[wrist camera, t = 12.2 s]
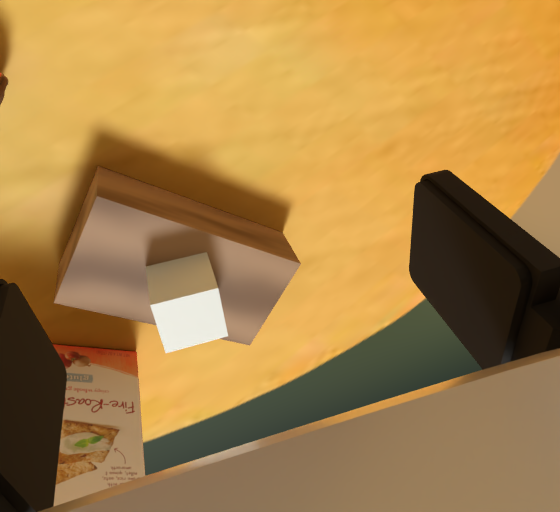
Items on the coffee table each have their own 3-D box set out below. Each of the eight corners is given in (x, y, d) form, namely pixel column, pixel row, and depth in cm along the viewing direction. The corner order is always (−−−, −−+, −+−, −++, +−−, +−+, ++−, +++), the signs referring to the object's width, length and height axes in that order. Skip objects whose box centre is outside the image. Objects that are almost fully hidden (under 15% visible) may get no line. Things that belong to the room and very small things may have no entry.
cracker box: (138, 346, 50) (154, 553, 33) (124, 387, 52) (133, 598, 36) (-18, 332, 44) (-93, 577, 27) (-25, 380, 46) (-97, 630, 30)
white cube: (206, 251, 39) (218, 287, 35) (216, 298, 42) (228, 336, 38) (145, 266, 38) (150, 305, 34) (159, 312, 41) (165, 353, 37)
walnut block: (97, 163, 39) (96, 196, 34) (281, 230, 48) (300, 263, 43) (59, 261, 43) (53, 303, 38) (236, 307, 51) (249, 345, 47)
